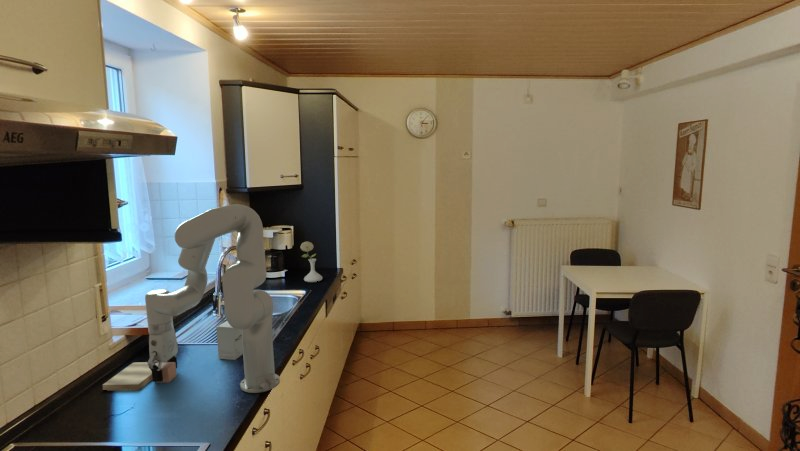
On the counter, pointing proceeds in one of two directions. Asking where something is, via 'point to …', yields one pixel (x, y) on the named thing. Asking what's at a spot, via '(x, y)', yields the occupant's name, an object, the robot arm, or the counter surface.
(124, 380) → the chopping board
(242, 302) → the robot arm
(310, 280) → the flower in vase
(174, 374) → the terracotta cube
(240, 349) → the supplement box
